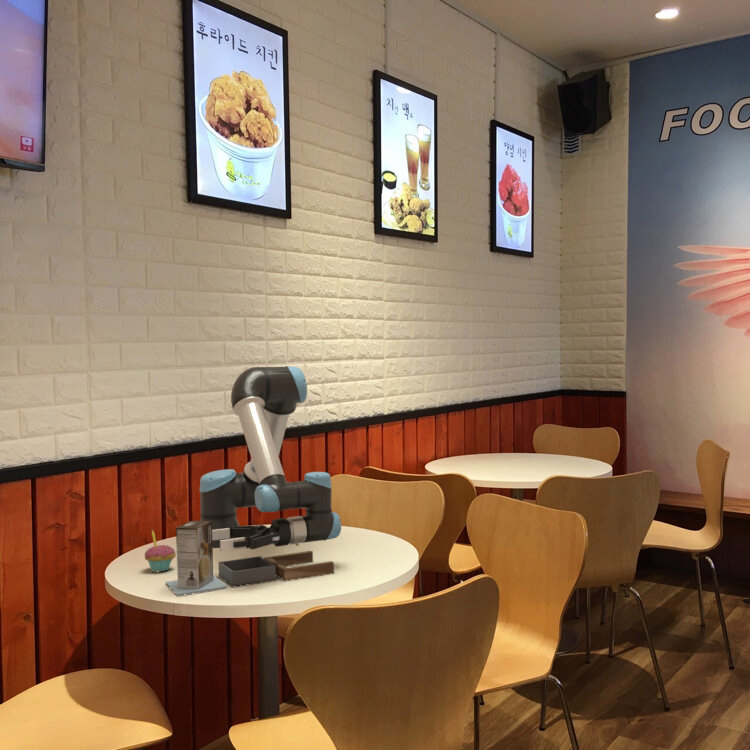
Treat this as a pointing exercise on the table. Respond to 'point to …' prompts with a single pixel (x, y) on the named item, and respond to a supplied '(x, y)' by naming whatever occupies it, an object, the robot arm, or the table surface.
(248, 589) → the table surface
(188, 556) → the coffee box
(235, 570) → the bin
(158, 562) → the cupcake
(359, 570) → the table surface
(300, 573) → the walnut slot
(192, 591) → the mat
